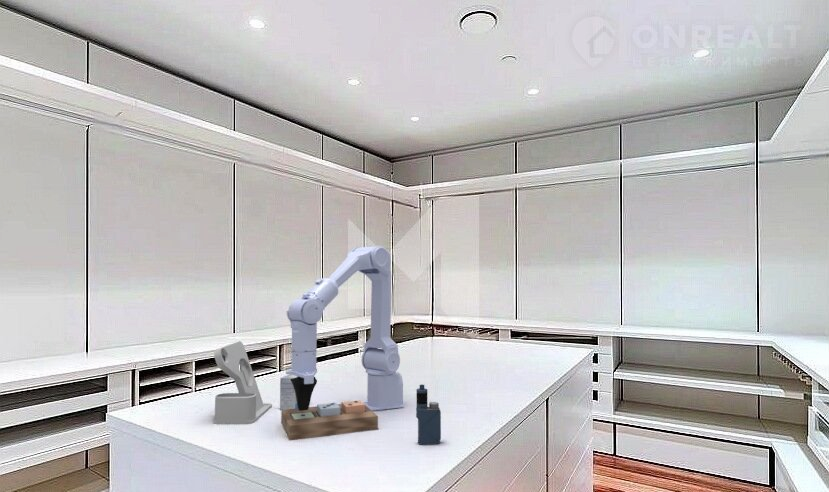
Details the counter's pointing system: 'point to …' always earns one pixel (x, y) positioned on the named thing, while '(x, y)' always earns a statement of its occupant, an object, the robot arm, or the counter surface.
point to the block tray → (326, 423)
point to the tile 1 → (302, 415)
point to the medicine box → (287, 393)
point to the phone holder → (248, 400)
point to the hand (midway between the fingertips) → (303, 409)
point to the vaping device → (427, 419)
